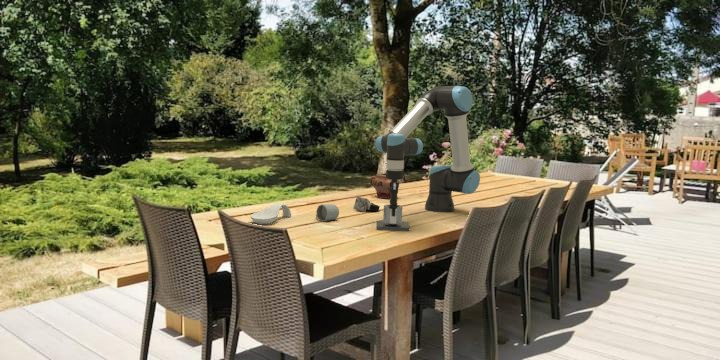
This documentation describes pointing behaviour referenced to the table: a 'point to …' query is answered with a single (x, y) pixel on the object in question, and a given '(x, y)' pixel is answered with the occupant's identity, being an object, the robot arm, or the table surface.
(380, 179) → the decorative planter
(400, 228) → the shaft block
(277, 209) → the spoon rest
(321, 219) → the ceramic mug
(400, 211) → the tube
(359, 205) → the caster wheel
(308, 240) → the table surface
